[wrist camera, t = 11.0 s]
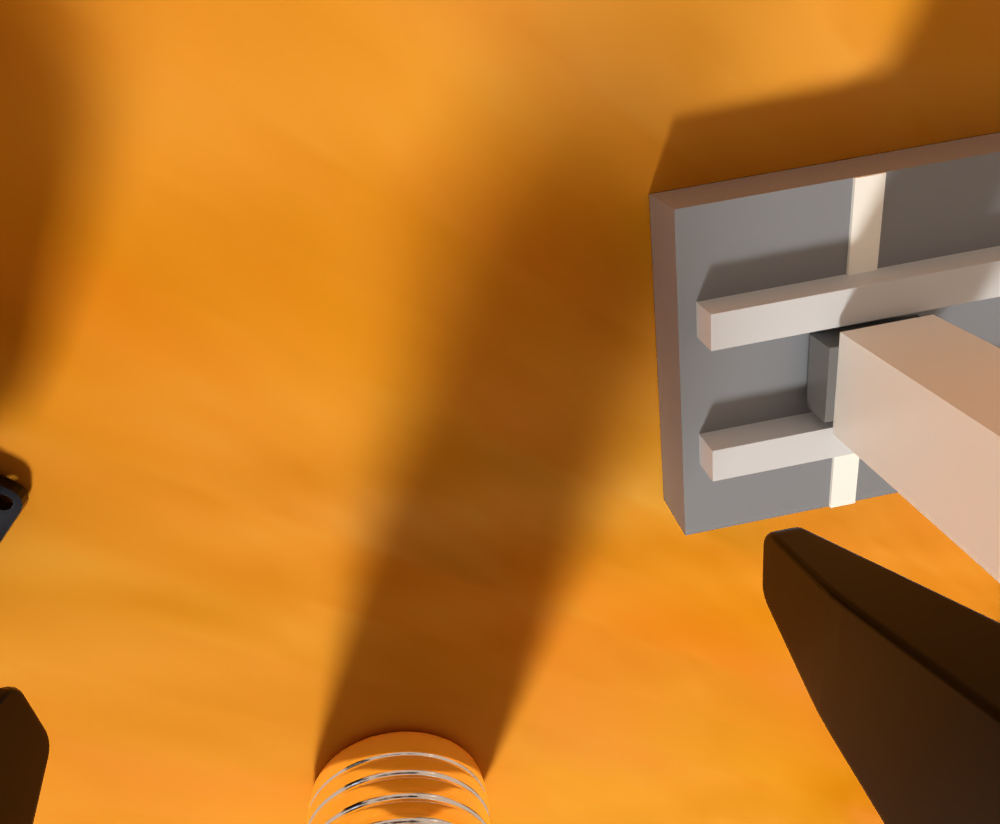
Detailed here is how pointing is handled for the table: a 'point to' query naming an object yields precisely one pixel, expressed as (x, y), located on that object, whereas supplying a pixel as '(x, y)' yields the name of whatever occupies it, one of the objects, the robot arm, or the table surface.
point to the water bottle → (400, 783)
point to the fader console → (804, 312)
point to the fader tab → (919, 418)
